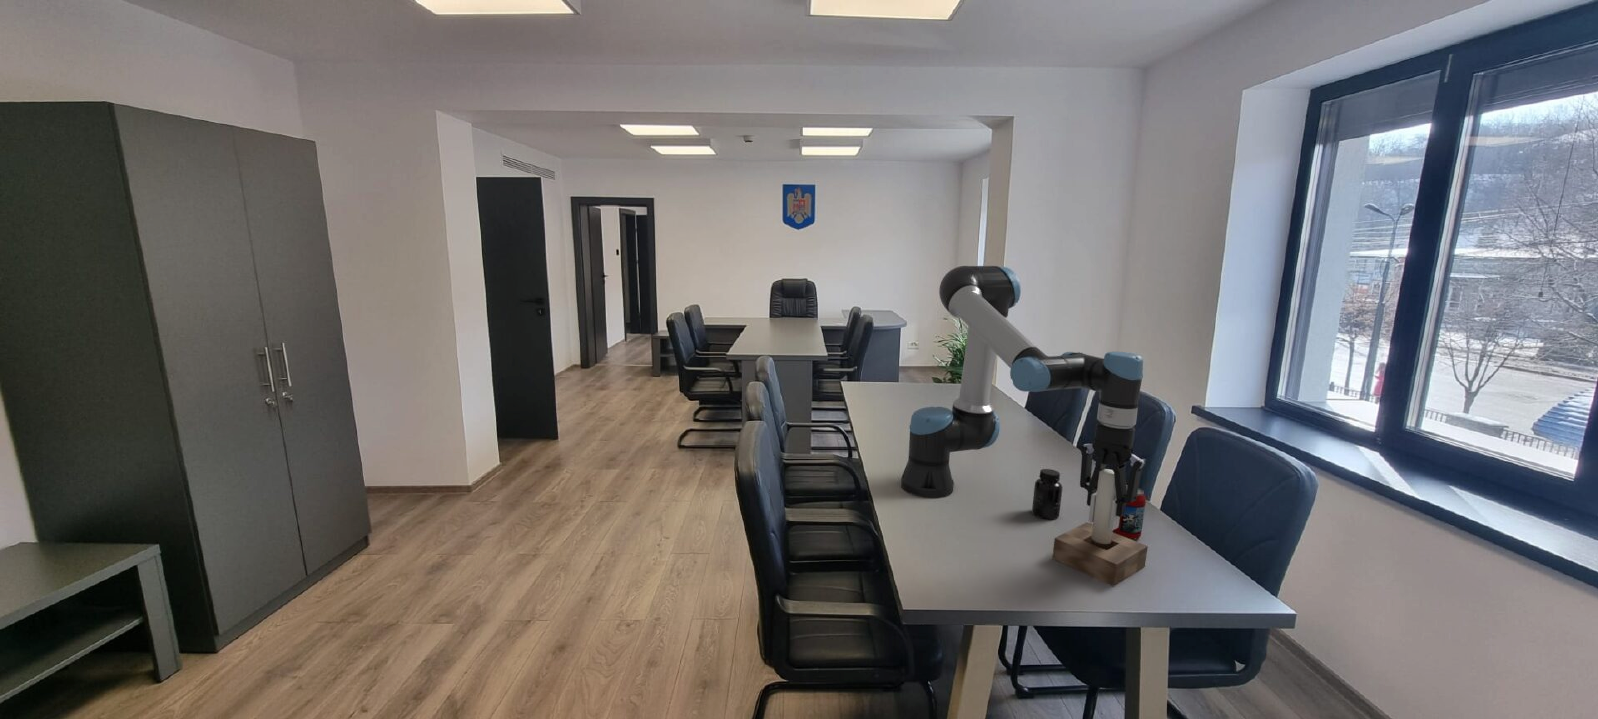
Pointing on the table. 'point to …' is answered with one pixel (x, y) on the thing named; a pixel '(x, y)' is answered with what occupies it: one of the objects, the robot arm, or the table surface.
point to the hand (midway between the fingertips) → (1103, 524)
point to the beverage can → (1132, 518)
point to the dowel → (1104, 507)
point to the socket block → (1100, 554)
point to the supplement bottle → (1047, 495)
